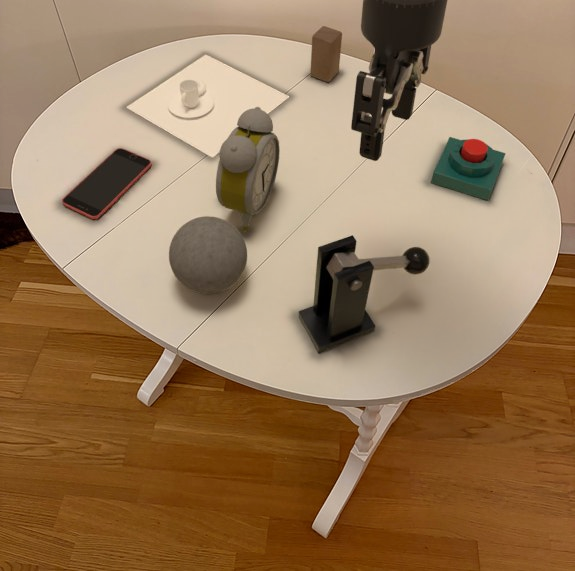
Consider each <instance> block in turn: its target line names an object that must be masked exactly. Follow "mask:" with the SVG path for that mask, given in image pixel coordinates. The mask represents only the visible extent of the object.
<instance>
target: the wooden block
mask: <svg viewBox="0 0 575 571" xmlns="http://www.w3.org/2000/svg"><path fill="white" fill-rule="evenodd" d="M342 41H343V32H342V31H340V30H337V29H335V28H331V27H328V26H325V25H322V26H321V27H320V28H319V29H318V30H317V31H315V33H313V35H312V36H311V50H310V51H311V53H310V54H311V55H310V72H309V73H310V77H312V78H315V79H318V80H320V81H324V82H326V83H330V82H331V81H332V79H334V78H335V77H336V75H338V73H339V72H340V64H341V52H342Z"/></svg>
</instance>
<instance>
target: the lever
mask: <svg viewBox="0 0 575 571" xmlns="http://www.w3.org/2000/svg"><path fill="white" fill-rule="evenodd" d="M430 259H431V258H430V255H429V253H428V252H427V250H425V249H424V248H422V247H421V246H411V247H409V248H407V249H406V250H405V251H404V252H403V253H402V255H396V256H383V257H382V256H381V257H370V258H359V257H358V256H357V254H356V252H355V253H354V252H345V253H334V255H333V257H332V258H331V260H330V262H329V264H328V265H327V267H326V268H327V270H328V272H329V273H330V275H331V277H332V278H333V280H334V273H336V272H339V271H342V270H345V269H348V268H350V267H353V266H356V265H359V264H361V263H364V262H367V261H370V262H371V263H372V265H373V266H374V269H373V271H383V270H392V269H403V270H404V271H405V272H407V273H408V274H410V275H420V274H423V273H425V271H427V269H428V268H429V266H430V262H431V260H430Z"/></svg>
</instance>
